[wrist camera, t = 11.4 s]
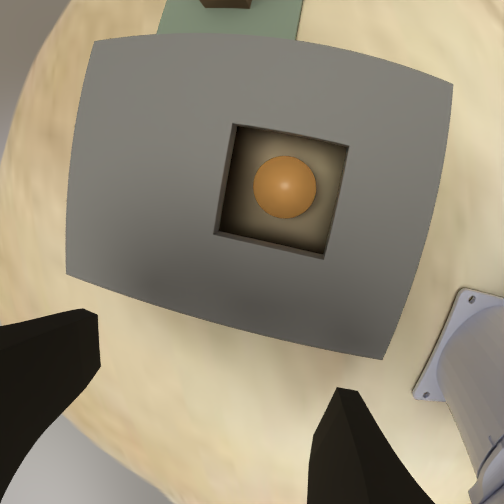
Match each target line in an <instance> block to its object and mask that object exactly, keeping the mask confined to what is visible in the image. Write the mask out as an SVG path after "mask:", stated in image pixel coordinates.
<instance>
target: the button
mask: <svg viewBox="0 0 504 504" xmlns="http://www.w3.org/2000/svg"><path fill="white" fill-rule="evenodd" d="M253 190H254V195H255V198H256V201H257V202H258V204H259V205H260V207H261V208H262V209H263V210H264V211H265V212H267V213H268V214H270V215H272V216H274V217H278V218H293V217H296V216H298V215H300V214H302V213H303V212H305V211H306V210H307V209H308V208H309V207H310V205H311V204H312V202H313V200H314V197H315V194H316V182H315V178H314V175H313V173H312V171H311V170H310V168H309V167H308V166H307V165H306V164H305V163H303V162H302V161H301V160H299V159H297V158H294V157H290V156H278V157H275V158H272V159H270V160H268V161H266V162H265V163H264V164H263V165H262V166H261V167H260V168H259V170H258V171H257V173H256V175H255V178H254V183H253Z"/></svg>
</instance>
